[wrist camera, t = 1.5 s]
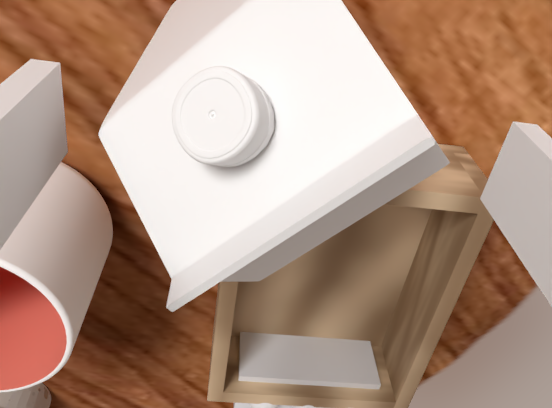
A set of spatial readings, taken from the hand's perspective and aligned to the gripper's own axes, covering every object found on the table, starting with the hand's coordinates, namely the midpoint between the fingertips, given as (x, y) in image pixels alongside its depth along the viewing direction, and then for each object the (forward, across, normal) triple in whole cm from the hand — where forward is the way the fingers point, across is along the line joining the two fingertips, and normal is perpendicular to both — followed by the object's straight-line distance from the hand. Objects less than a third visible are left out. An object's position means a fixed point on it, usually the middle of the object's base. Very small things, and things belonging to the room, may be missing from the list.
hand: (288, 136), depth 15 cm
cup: (+14, -14, -14) cm, 24 cm away
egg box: (+13, +6, -24) cm, 28 cm away
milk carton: (+14, 0, 0) cm, 14 cm away
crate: (+14, +6, -15) cm, 21 cm away
